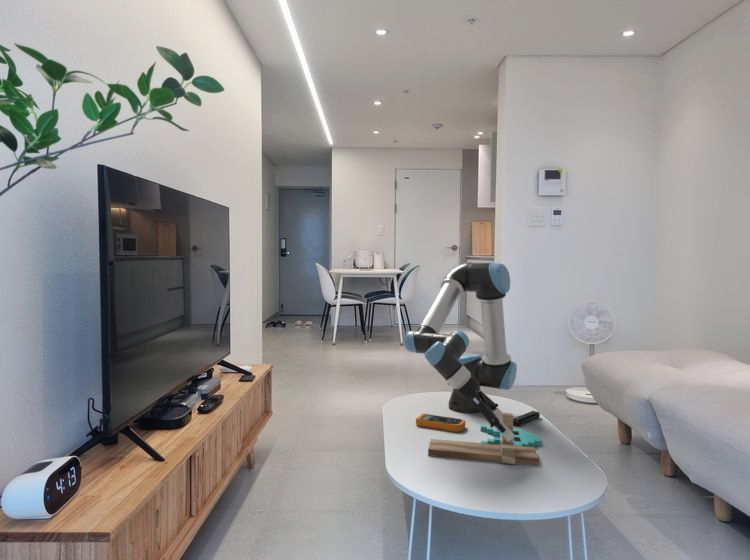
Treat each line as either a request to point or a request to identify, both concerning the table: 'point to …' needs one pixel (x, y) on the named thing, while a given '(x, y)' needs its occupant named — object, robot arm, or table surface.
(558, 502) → the table surface
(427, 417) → the multimeter
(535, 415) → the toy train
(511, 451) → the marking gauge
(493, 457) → the walnut board
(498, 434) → the alien figure
